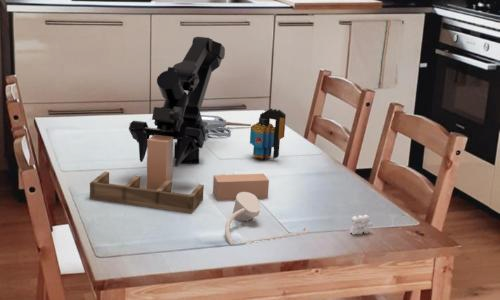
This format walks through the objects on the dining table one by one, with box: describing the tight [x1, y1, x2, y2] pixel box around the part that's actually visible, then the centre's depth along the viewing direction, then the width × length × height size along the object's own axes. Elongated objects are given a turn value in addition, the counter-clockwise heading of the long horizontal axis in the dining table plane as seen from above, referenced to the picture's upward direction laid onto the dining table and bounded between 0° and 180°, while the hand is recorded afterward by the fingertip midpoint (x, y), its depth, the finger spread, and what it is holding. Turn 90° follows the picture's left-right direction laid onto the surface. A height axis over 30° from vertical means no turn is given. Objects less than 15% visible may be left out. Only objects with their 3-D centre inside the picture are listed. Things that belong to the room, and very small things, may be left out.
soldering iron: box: [201, 114, 252, 139], centre depth 257 cm, size 6×28×16 cm
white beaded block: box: [349, 214, 373, 236], centre depth 187 cm, size 5×1×4 cm, turn 116°
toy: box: [249, 108, 286, 161], centre depth 234 cm, size 10×10×15 cm
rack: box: [89, 171, 204, 214], centre depth 200 cm, size 9×26×4 cm, turn 77°
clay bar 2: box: [212, 173, 270, 201], centre depth 206 cm, size 13×5×5 cm, turn 104°
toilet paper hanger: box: [224, 192, 310, 244], centre depth 188 cm, size 20×5×16 cm
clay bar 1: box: [146, 135, 174, 190], centre depth 207 cm, size 5×5×13 cm
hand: (158, 163), depth 205 cm, fingers open, 9 cm apart
